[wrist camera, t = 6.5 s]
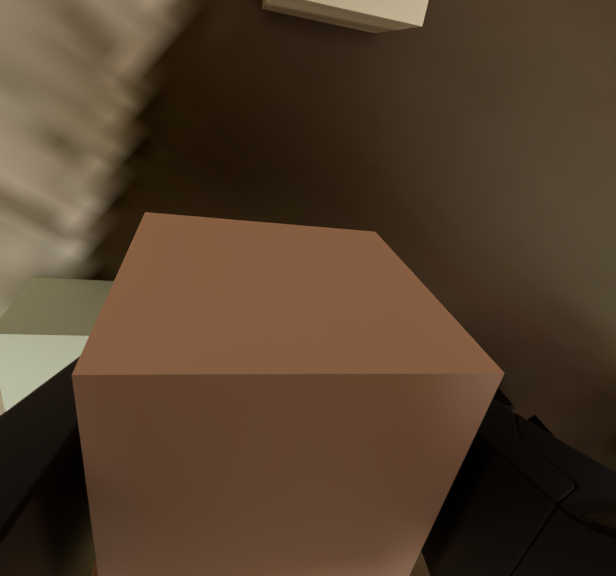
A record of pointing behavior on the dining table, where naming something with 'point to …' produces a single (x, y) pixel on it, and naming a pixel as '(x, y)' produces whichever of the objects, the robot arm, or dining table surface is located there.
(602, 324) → the dining table surface
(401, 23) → the birch block
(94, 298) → the sage block
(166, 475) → the terracotta block
